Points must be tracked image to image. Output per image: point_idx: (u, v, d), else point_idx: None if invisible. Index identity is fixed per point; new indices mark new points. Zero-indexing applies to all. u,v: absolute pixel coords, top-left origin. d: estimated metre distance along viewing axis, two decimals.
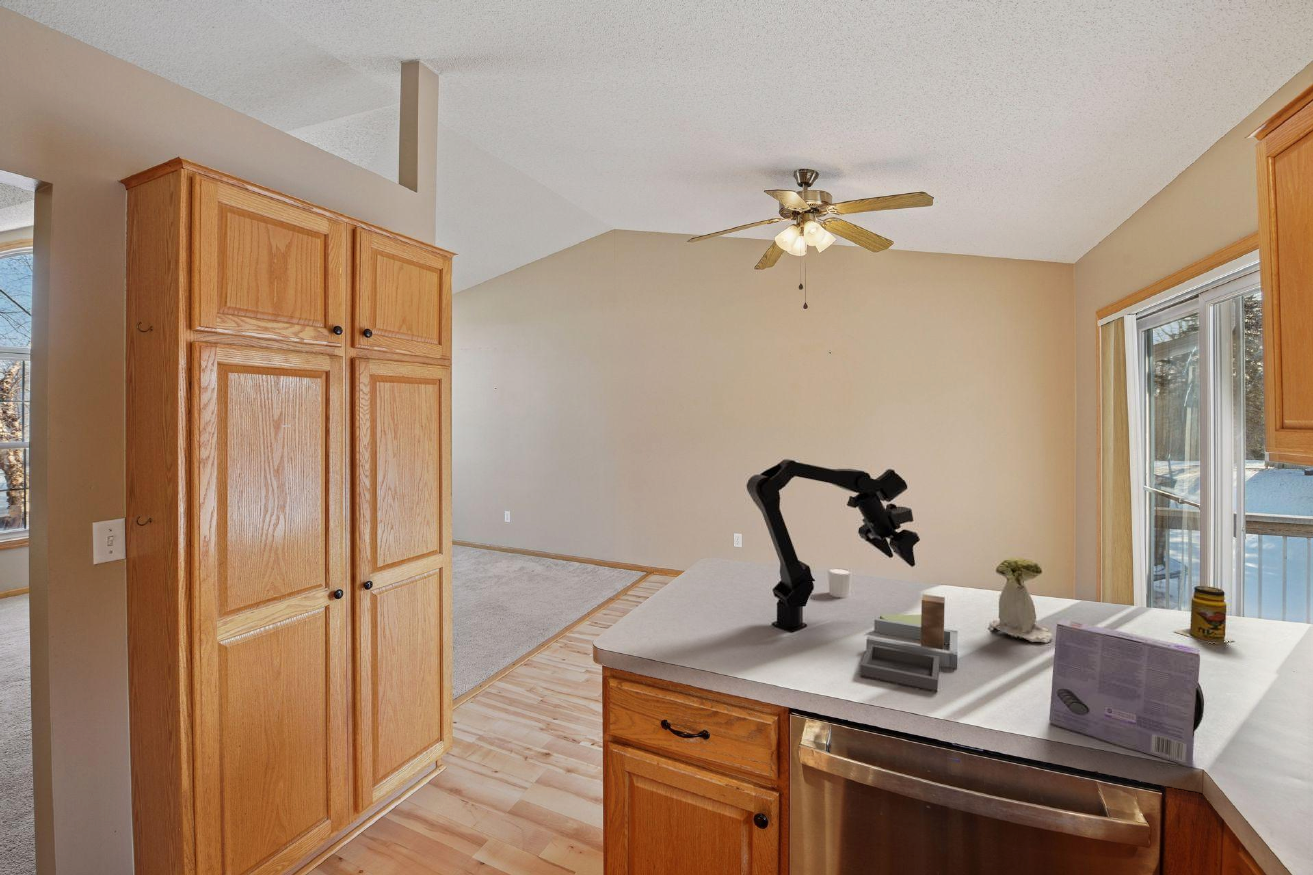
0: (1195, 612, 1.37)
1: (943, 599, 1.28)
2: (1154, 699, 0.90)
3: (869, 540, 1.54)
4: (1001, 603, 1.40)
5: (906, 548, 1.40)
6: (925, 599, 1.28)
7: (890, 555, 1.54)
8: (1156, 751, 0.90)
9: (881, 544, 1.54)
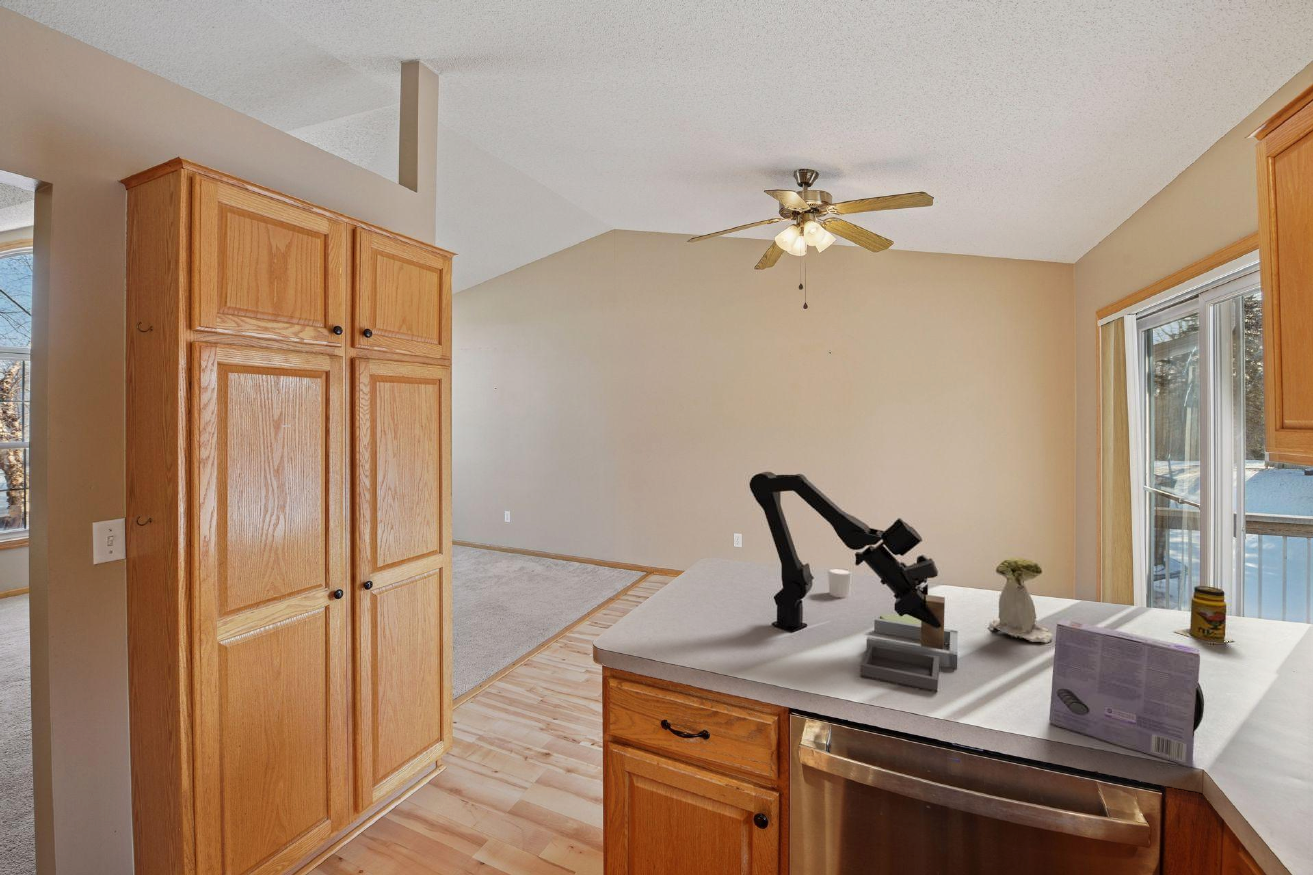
0: (1195, 611, 1.37)
1: (943, 599, 1.28)
2: (1154, 699, 0.90)
3: None
4: (1001, 603, 1.40)
5: (905, 611, 1.23)
6: None
7: None
8: (1156, 751, 0.90)
9: None
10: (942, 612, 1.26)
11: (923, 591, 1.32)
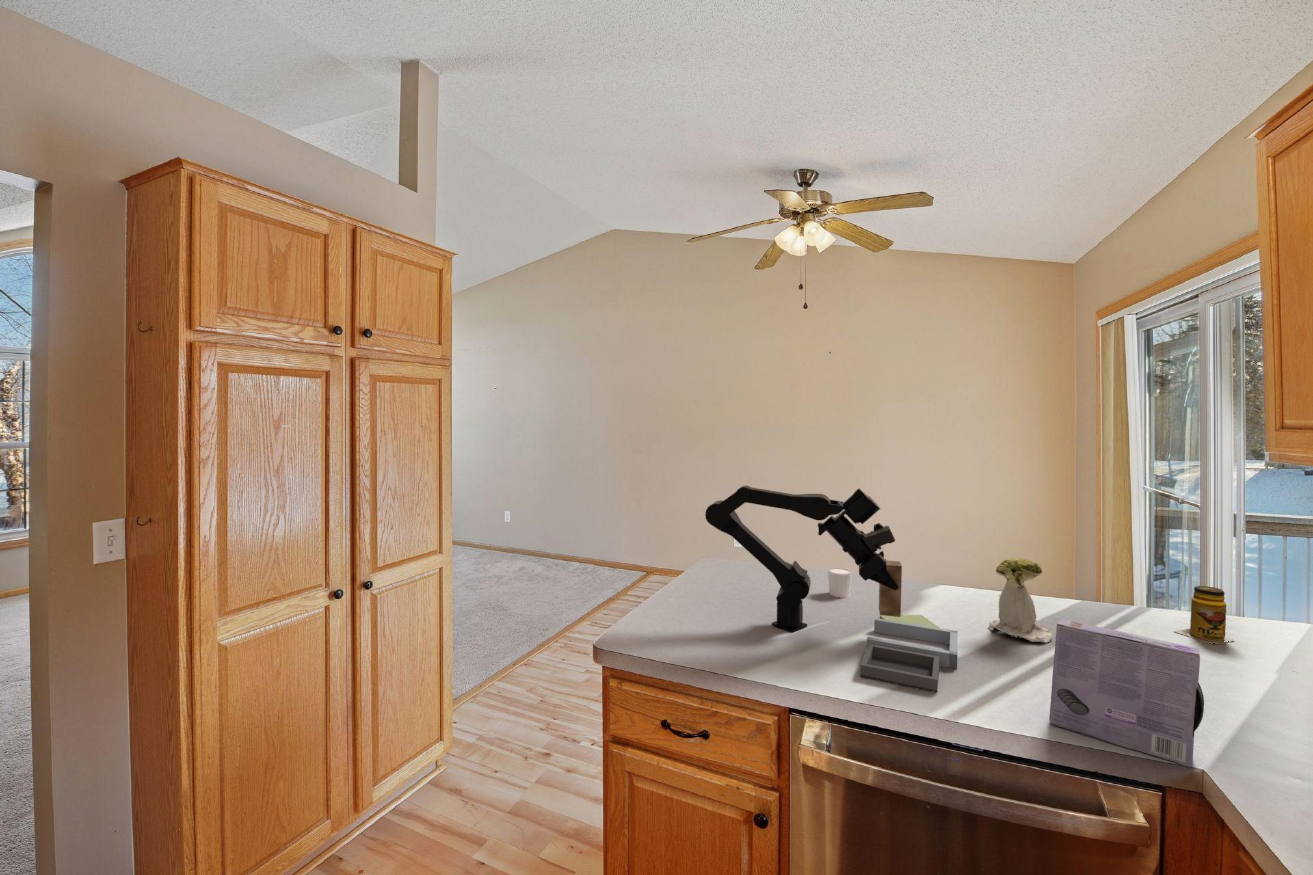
0: (1195, 611, 1.37)
1: (899, 563, 1.36)
2: (1154, 699, 0.90)
3: None
4: (1001, 603, 1.40)
5: (869, 575, 1.29)
6: None
7: None
8: (1156, 751, 0.90)
9: None
10: (900, 575, 1.34)
11: None
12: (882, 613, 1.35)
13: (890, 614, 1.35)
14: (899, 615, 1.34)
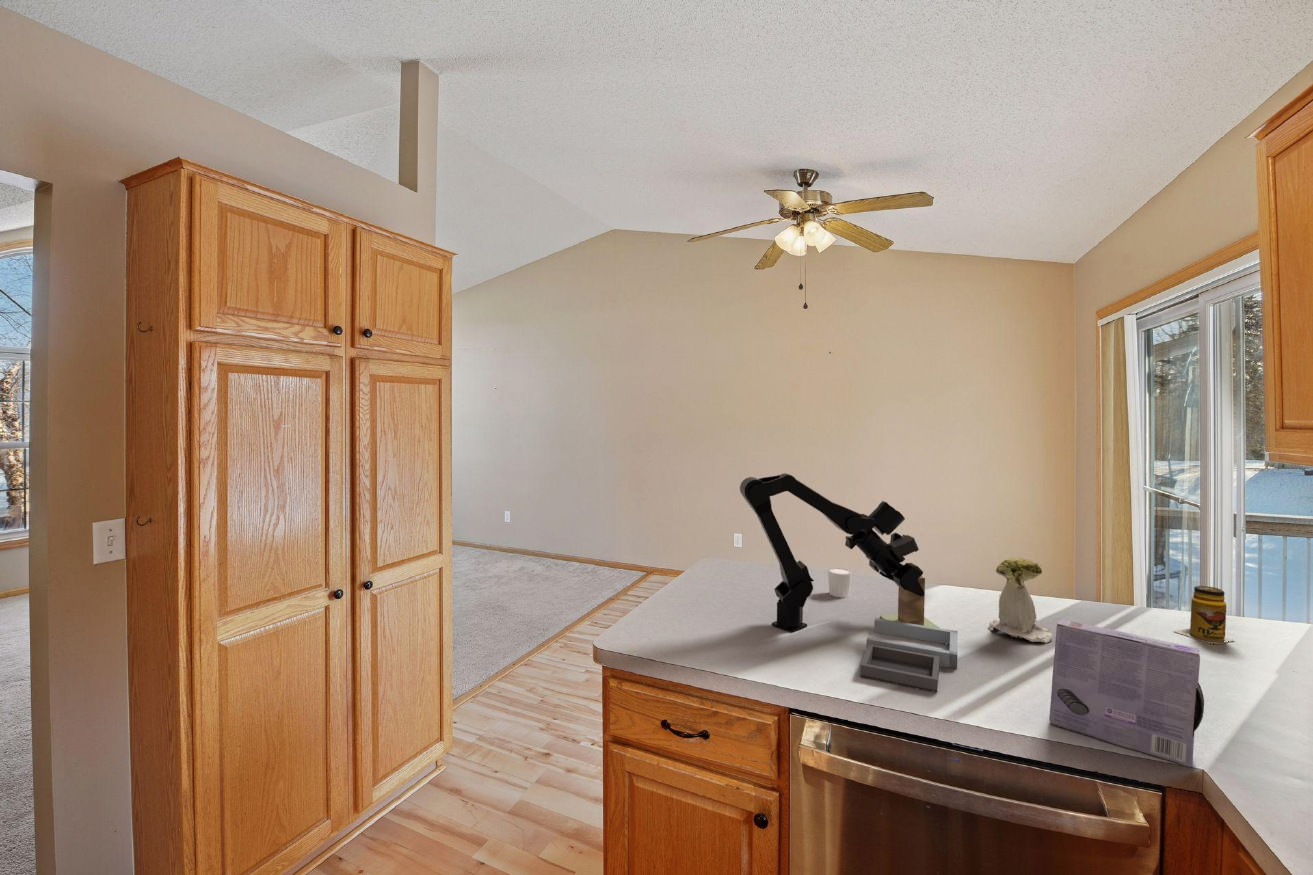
0: (1195, 611, 1.37)
1: None
2: (1154, 699, 0.90)
3: (883, 574, 1.50)
4: (1001, 603, 1.40)
5: (909, 584, 1.36)
6: None
7: None
8: (1156, 751, 0.90)
9: None
10: (923, 586, 1.43)
11: None
12: None
13: None
14: (923, 624, 1.44)
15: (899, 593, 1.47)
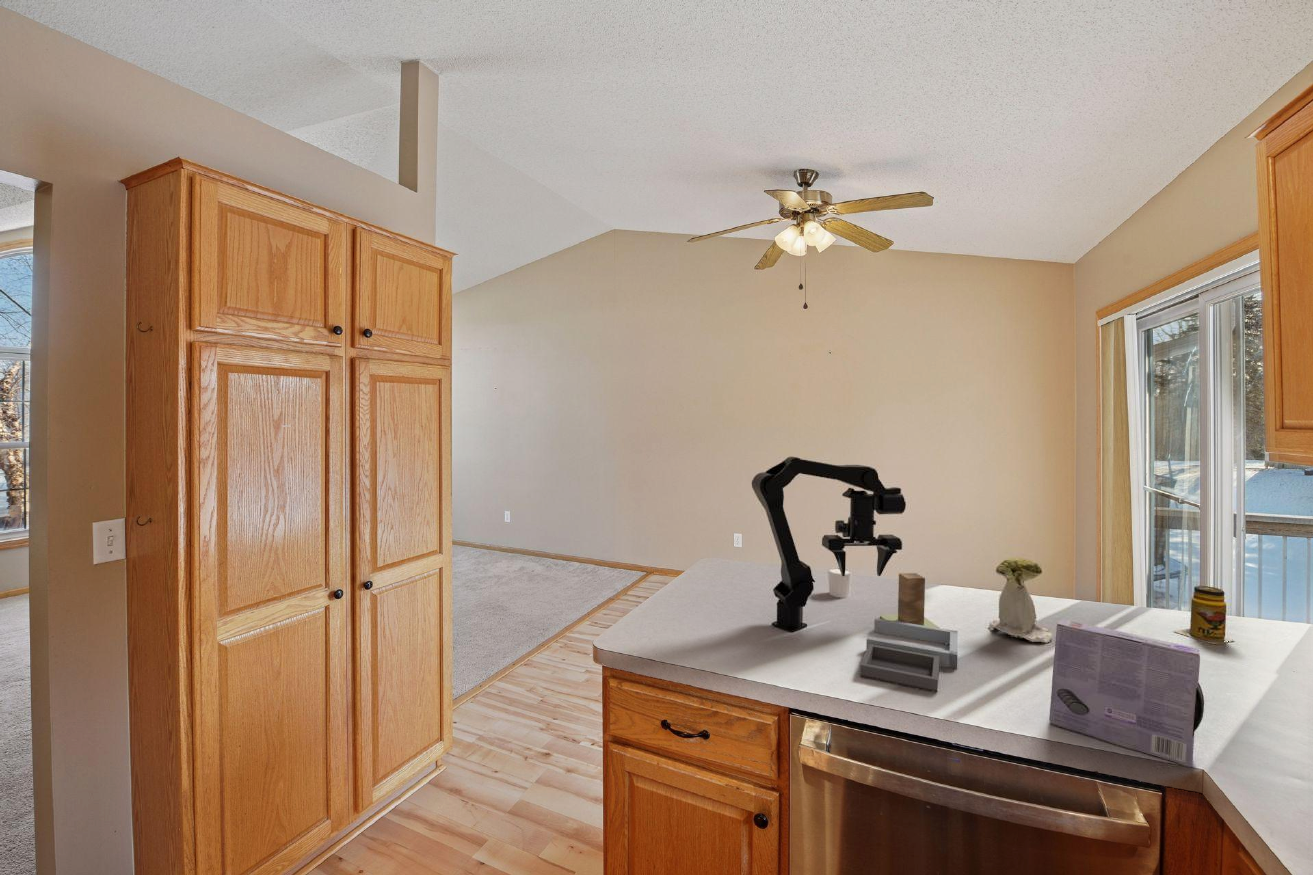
0: (1195, 611, 1.37)
1: (918, 575, 1.46)
2: (1154, 699, 0.90)
3: (842, 551, 1.44)
4: (1001, 603, 1.40)
5: None
6: (908, 577, 1.44)
7: None
8: (1156, 751, 0.90)
9: None
10: (923, 586, 1.43)
11: None
12: None
13: None
14: (923, 624, 1.44)
15: (899, 593, 1.47)
